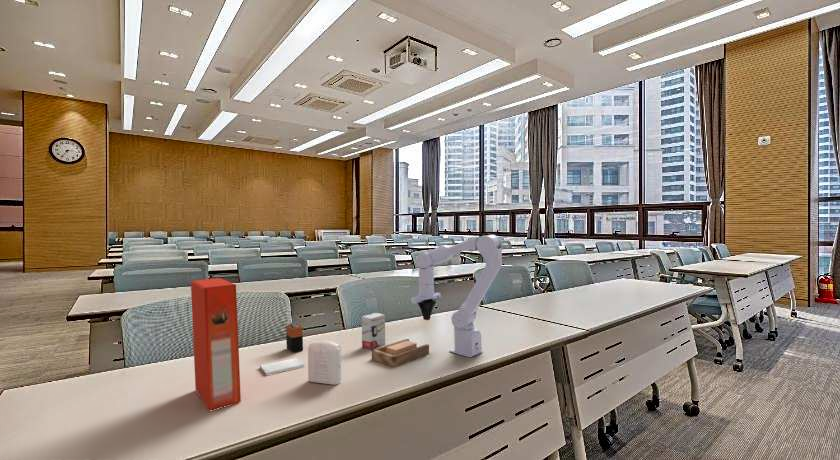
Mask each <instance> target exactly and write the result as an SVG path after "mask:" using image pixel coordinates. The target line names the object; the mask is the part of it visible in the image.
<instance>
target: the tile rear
mask: <svg viewBox="0 0 840 460" xmlns="http://www.w3.org/2000/svg"><path fill="white" fill-rule="evenodd" d="M398 344H399V345H403V346H406V347H407V351H408V350H411V349H414V348H417V345H418V343H417V342H413V341H410V340H409V341H404V342H401V343H398Z"/></svg>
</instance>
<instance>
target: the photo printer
mask: <svg viewBox="0 0 840 460" xmlns="http://www.w3.org/2000/svg"><path fill="white" fill-rule="evenodd" d="M307 359H308V360H307V364H308V365H307V367H308V368H307V370H308V371H307V372H308V373H307V374H308V375H307V376H308V377H307V379H308V382H312V383H317V384H326V385H335V386H337V385H339V384H340V383H342V382H341V381H342V348H341V345H340V344H338V343H337V342H334V341H330V340H316V341H312V342H310V343H309V345H308V347H307Z"/></svg>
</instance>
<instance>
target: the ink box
mask: <svg viewBox="0 0 840 460" xmlns="http://www.w3.org/2000/svg"><path fill="white" fill-rule="evenodd" d="M384 345H386V314H384V313H383V314H382V313H379V312H373V313H370V314H366V315H363V316H362V317H361V347H362V348H365V349H369V350H373V349H376V348H379V347H382V346H384Z"/></svg>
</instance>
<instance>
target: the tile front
mask: <svg viewBox="0 0 840 460" xmlns="http://www.w3.org/2000/svg"><path fill="white" fill-rule="evenodd" d="M386 348H387V353H388V354H391V355H397V354H399V353H402V352H405V351H407V347H406V346H403V345H399V344H395V345H392V346H389V347H386Z"/></svg>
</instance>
